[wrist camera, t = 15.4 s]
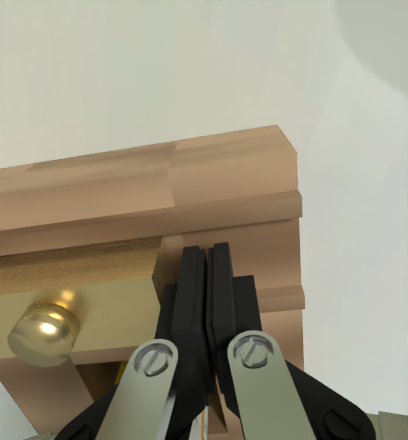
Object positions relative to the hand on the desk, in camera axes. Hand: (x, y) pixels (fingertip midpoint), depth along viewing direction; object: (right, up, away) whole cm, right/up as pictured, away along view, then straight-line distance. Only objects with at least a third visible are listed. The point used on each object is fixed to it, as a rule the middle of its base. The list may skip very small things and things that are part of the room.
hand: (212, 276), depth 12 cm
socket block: (-3, -3, +8) cm, 9 cm away
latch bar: (-6, 0, +2) cm, 6 cm away
